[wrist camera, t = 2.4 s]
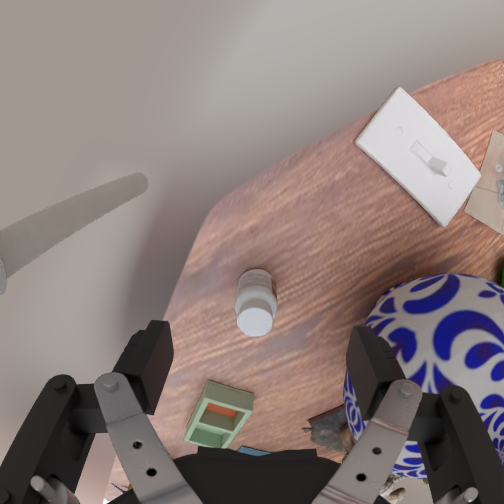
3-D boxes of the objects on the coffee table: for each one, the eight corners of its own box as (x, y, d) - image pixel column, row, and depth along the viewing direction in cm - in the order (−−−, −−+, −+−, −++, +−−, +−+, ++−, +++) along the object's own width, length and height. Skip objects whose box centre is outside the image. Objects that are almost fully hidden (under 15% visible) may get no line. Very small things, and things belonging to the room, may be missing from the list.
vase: (305, 266, 34) (373, 558, 6) (463, 213, 31) (650, 349, 3) (338, 389, 42) (375, 575, 14) (462, 341, 38) (552, 485, 10)
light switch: (456, 235, 27) (362, 141, 26) (437, 225, 32) (351, 142, 30) (496, 178, 25) (409, 80, 23) (474, 173, 29) (393, 88, 28)
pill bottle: (270, 304, 37) (272, 344, 29) (234, 297, 36) (228, 336, 29) (280, 272, 35) (284, 308, 28) (242, 264, 35) (236, 298, 28)
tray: (186, 425, 46) (183, 440, 43) (208, 379, 42) (204, 397, 38) (225, 436, 47) (223, 452, 44) (253, 393, 42) (252, 411, 39)
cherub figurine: (414, 425, 46) (440, 497, 30) (332, 460, 50) (342, 533, 33) (395, 379, 41) (432, 470, 24) (294, 423, 45) (300, 517, 28)
